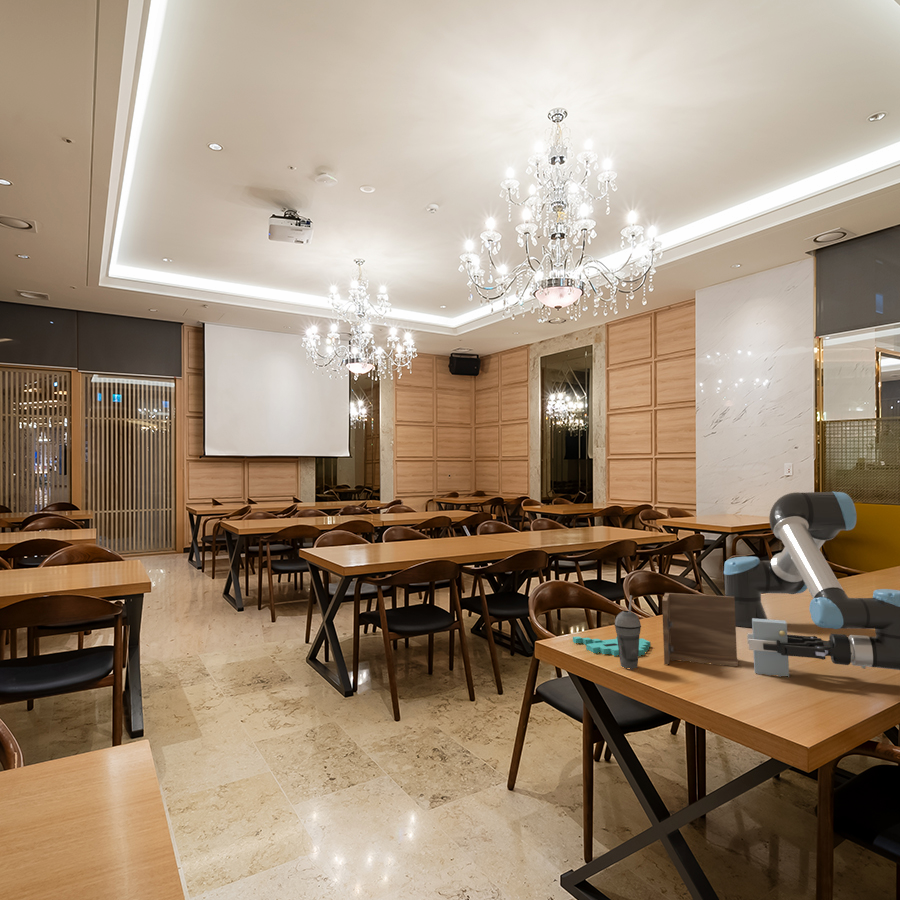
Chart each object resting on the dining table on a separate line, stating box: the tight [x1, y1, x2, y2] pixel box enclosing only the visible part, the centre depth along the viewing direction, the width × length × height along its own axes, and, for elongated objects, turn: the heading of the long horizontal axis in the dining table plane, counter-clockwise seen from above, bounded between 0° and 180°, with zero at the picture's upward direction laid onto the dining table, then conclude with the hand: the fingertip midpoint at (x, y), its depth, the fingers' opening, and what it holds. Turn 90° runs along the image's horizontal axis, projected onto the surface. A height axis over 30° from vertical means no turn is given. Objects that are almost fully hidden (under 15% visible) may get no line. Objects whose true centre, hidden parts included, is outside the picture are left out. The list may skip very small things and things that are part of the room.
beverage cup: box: [614, 595, 642, 670], centre depth 166 cm, size 7×7×20 cm
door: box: [751, 618, 790, 678], centre depth 157 cm, size 5×8×14 cm, turn 66°
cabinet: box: [661, 592, 739, 667], centre depth 169 cm, size 12×19×18 cm, turn 66°
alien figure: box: [572, 636, 652, 657], centre depth 184 cm, size 20×2×20 cm
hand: (748, 641), depth 160 cm, fingers open, 5 cm apart
